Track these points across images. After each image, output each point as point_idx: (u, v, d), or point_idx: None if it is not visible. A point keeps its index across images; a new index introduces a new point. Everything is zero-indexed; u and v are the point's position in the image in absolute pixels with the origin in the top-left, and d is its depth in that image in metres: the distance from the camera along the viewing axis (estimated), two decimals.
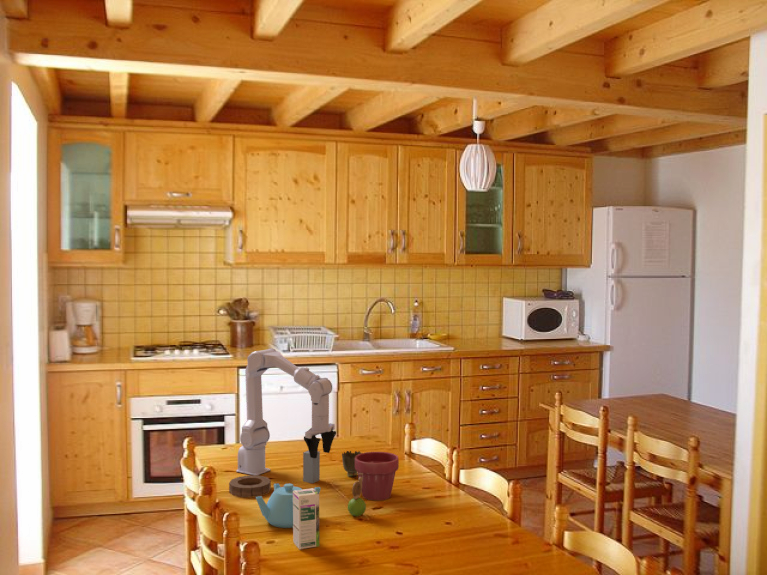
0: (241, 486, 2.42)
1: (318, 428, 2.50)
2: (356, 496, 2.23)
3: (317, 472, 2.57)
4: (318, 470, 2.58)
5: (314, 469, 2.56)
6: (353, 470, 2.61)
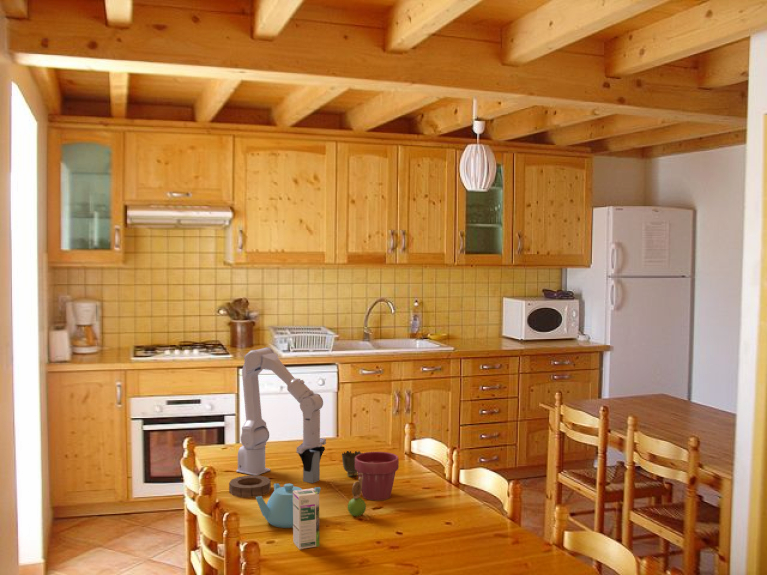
0: (241, 486, 2.42)
1: (309, 443, 2.55)
2: (356, 496, 2.23)
3: (317, 472, 2.57)
4: (318, 470, 2.58)
5: (314, 469, 2.56)
6: (353, 470, 2.61)
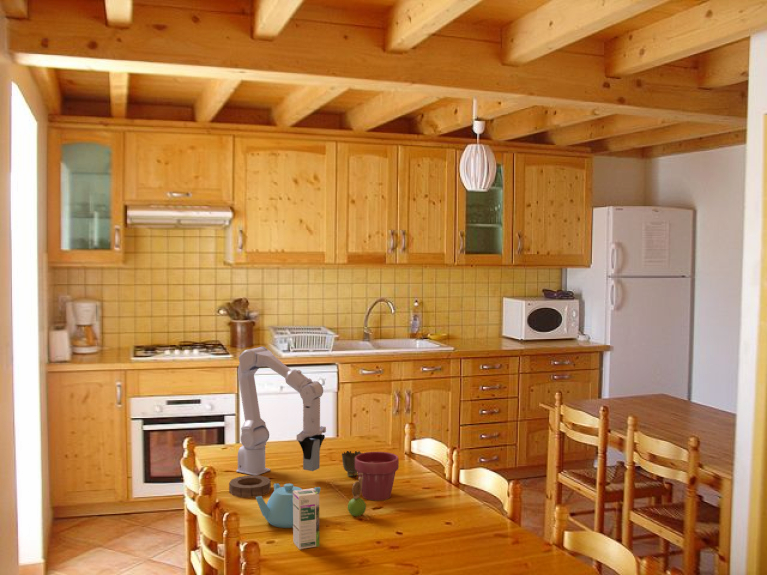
0: (241, 486, 2.42)
1: (309, 431, 2.54)
2: (356, 496, 2.23)
3: (317, 460, 2.57)
4: (318, 458, 2.58)
5: (314, 457, 2.56)
6: (353, 470, 2.61)
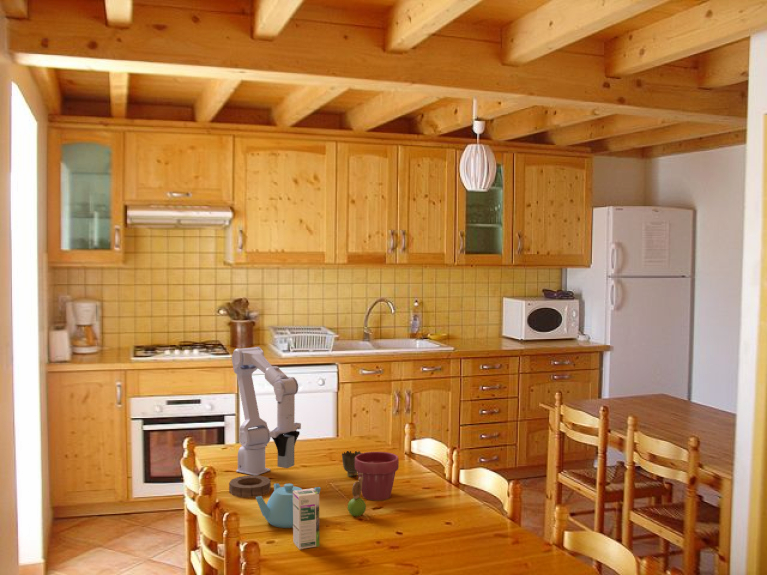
0: (241, 486, 2.42)
1: (283, 427, 2.50)
2: (356, 496, 2.23)
3: (292, 457, 2.52)
4: (292, 455, 2.53)
5: (288, 454, 2.51)
6: (353, 470, 2.61)
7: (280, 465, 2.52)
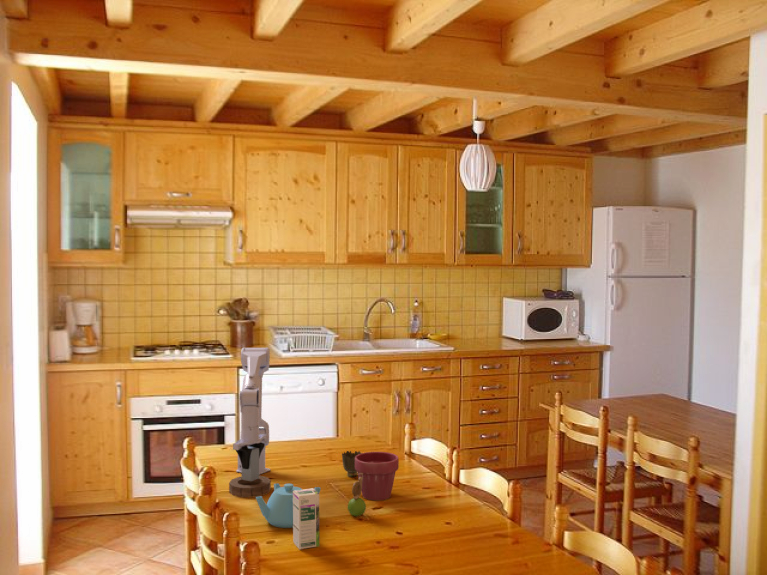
0: (241, 486, 2.42)
1: (247, 439, 2.43)
2: (356, 496, 2.23)
3: (256, 470, 2.46)
4: (257, 467, 2.47)
5: (252, 467, 2.45)
6: (353, 470, 2.61)
7: (244, 478, 2.45)
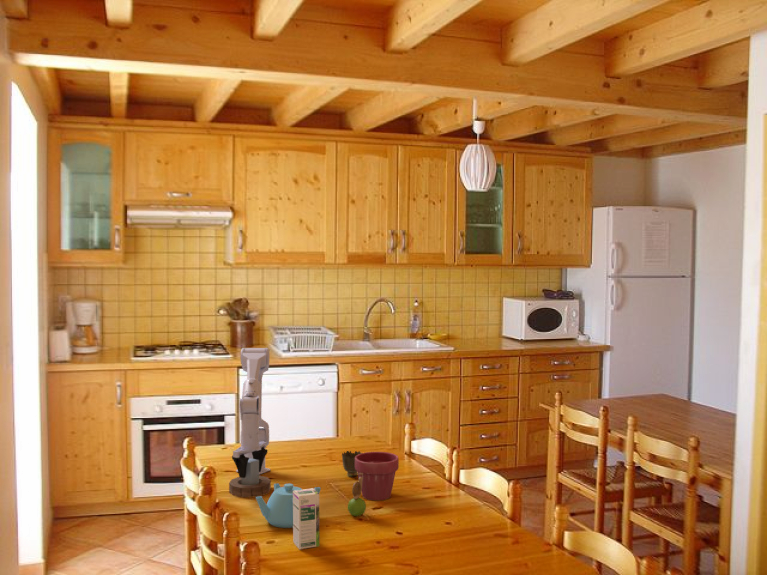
0: (241, 486, 2.42)
1: (247, 447, 2.43)
2: (356, 496, 2.23)
3: (256, 482, 2.46)
4: (257, 479, 2.47)
5: (252, 479, 2.45)
6: (353, 470, 2.61)
7: None
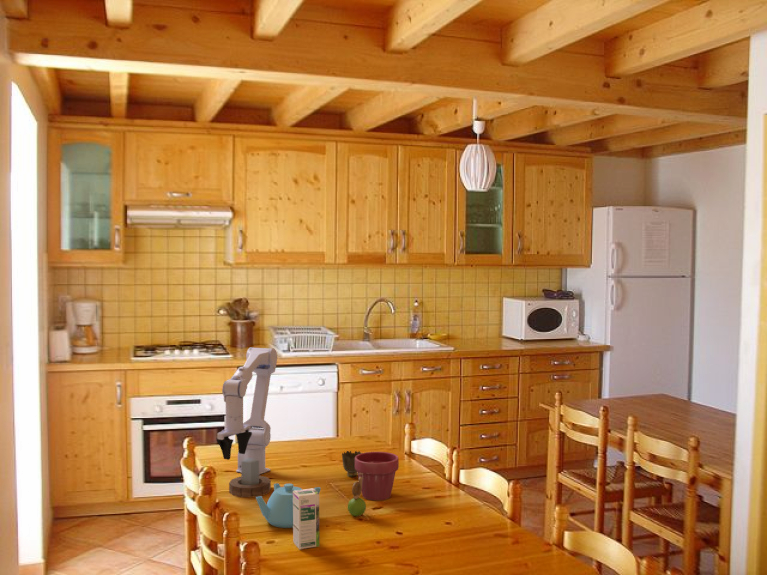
0: (241, 486, 2.42)
1: (231, 429, 2.47)
2: (356, 496, 2.23)
3: (256, 482, 2.46)
4: (257, 479, 2.47)
5: (252, 479, 2.45)
6: (353, 470, 2.61)
7: None
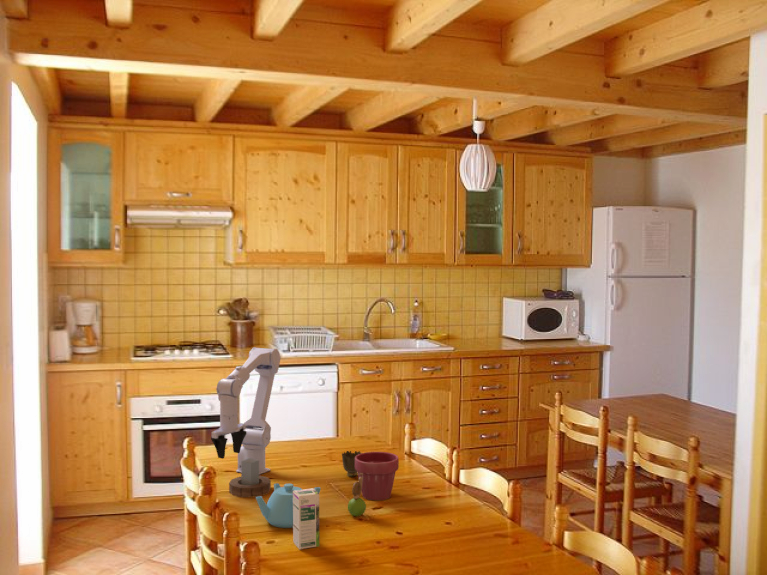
0: (241, 486, 2.42)
1: (226, 428, 2.48)
2: (356, 496, 2.23)
3: (256, 482, 2.46)
4: (257, 479, 2.47)
5: (252, 479, 2.45)
6: (353, 470, 2.61)
7: None
